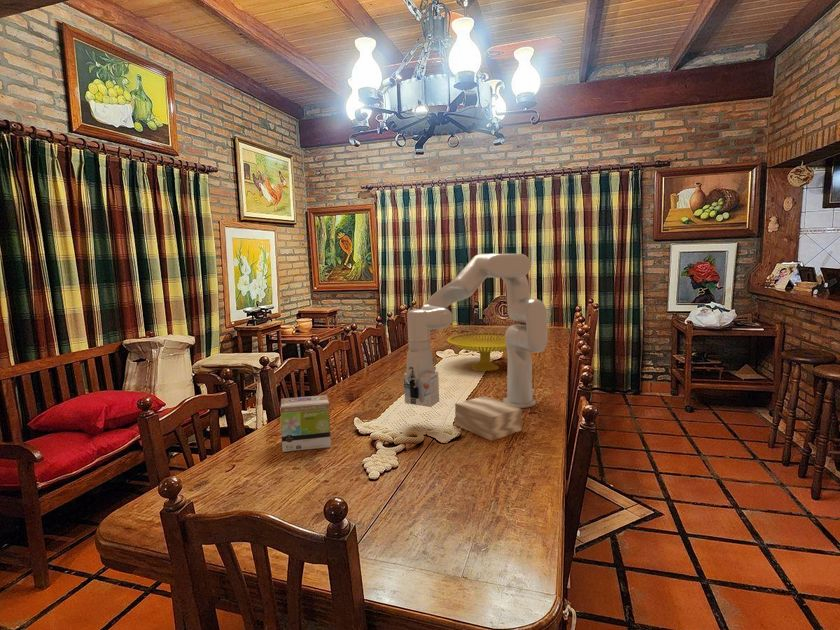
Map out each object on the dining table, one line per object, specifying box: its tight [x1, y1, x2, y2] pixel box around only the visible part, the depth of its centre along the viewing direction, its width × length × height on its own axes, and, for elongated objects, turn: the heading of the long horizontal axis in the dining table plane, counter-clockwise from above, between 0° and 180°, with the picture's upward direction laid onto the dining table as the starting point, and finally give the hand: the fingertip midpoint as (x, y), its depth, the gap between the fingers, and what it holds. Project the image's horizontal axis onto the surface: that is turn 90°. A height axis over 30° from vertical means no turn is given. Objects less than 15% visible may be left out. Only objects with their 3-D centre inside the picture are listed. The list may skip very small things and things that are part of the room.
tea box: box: [280, 394, 332, 453], centre depth 151 cm, size 15×10×15 cm
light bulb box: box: [403, 371, 440, 408], centre depth 165 cm, size 11×7×11 cm, turn 62°
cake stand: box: [445, 332, 507, 372], centre depth 246 cm, size 40×40×15 cm
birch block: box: [454, 395, 523, 442], centre depth 163 cm, size 14×18×8 cm
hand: (421, 394), depth 165 cm, fingers closed on light bulb box, 7 cm apart
